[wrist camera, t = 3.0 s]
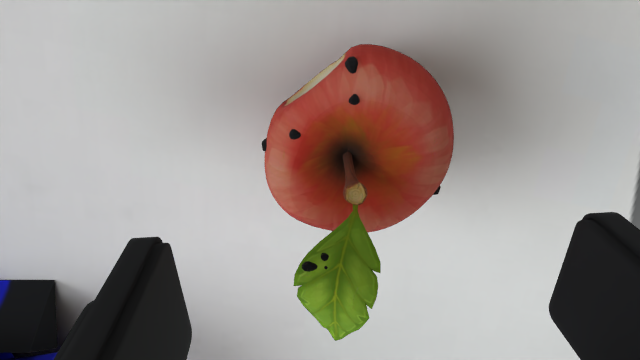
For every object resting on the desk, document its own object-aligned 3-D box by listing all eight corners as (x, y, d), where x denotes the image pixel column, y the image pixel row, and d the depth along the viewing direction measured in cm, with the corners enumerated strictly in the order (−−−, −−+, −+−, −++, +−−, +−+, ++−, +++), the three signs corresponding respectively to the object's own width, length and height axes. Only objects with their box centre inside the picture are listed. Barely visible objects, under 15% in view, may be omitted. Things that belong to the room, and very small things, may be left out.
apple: (259, 37, 17) (215, 122, 8) (421, 19, 17) (548, 86, 8) (285, 193, 21) (273, 365, 12) (418, 178, 21) (503, 342, 12)
